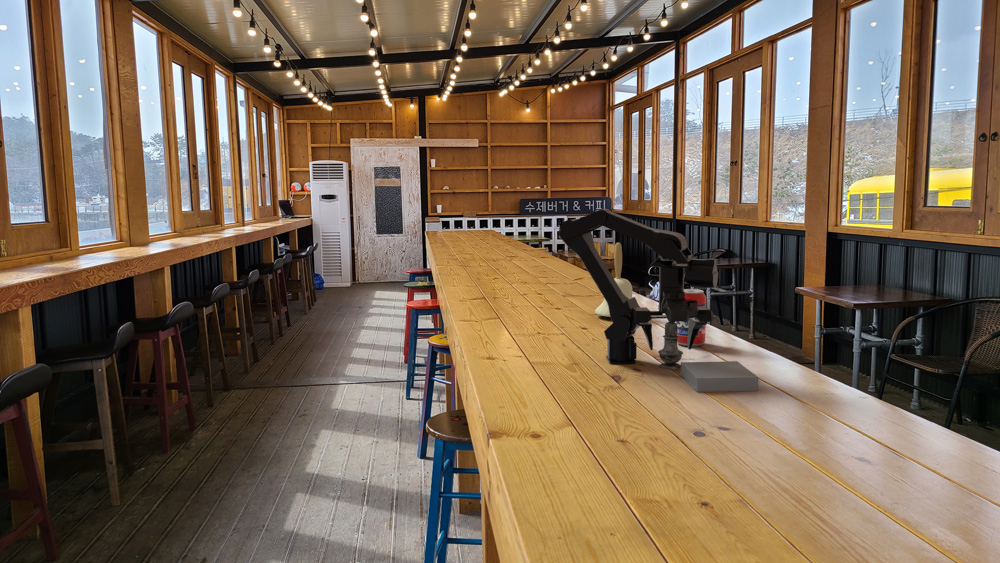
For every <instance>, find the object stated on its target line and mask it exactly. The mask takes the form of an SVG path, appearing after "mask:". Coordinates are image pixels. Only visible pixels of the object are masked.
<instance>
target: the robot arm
mask: <svg viewBox="0 0 1000 563" xmlns="http://www.w3.org/2000/svg"><path fill="white" fill-rule="evenodd" d="M602 227H604V228H606V229H609V230H611V231H614V232H616V233H619V234H621V235H623V236H625V237H628V238H631V239H633V240H635V241H638V242H640V243H642V244H644V245H645V246H647V247H648V248H649V249H650V250H652V251H653V252H655V253H656V254H658V255H659V256H657V257H656V259H655V260H654V261H653V262H652V263H650V267H652V268H659V274H658V277H659V280H658V284H659V286H658V305H657V307H658V308H657V309H658V310H650V309H649V308H648V307H646V306H645V307H641V306H640V305H639V302H638V300H637V297H635V296H632V298H631V299H629V298H627V297H626V296H625V295H624V294H623V293H622V291H621V289H620V288H619V286H618V285H617V283H616V281H615V280H614V276H613V275H612V273H611V272H610V270H609V268H608V266H607V265H606V263H605V262H604V260H603V258H602V257H601V255H600V253H599V252H598V250H597V249H596V247H595V242H594V236H593V234H592V232H594V231H596V230H598V229H600V228H602ZM558 235H559V238H560V239H561V240H562V242H563V243H564V244H565V245H566V246H567V247H568V249H570V250H571V251H572V252H574V253H575V254H576V255H577V256H578V257H579V258H580V260H581V262H582V263H583V265H584V267H585V269H586V270H587V272H588V273H589V275H590V277H591V279H592V280H593V282H594V283H595V285H596V286H597V288H598V289H599V291H600V293H601V295H602V296H603V299H604V298H605V300H606V301H607V304H608V308H609V313H610V317H609V318H610V319H611V321H612V323H611V324H610V325H609V326H608V327H607V328H605V330H604V331H603V332H604V336H605V339H606V340H607V346H606V347H607V352H606V353H607V355H605V358H606V360H607V361H608V363H609V364H614V365H615V364H617V365H618V364H636V363H637V361H636V360H637V350H638V349H637V348H638V347H637V343H636V341H635V337H634V335H635V334H636V331H637V329H639V328H640V327H641V328H642V331H643V333H644V336H645V339H646V341H647V344H648V348H649V350H650V351H653V346H654V343H653V333H652V328H653V323H651V320H652V319H654V320H655V319H657V320H658V319H666V320H667V322H675V323H676V322H688V321H689V323H688V341H687V343H688V346H687V349H688V350H691V349H692V345H693V342H694V340H695V337H696V335H697V333H698V331H699V329H700V328H701V327H702V326H703V325H706V326H707V325H708V323H711V322H713V321H714V313H713V311H712V310H711V309H710V308H708V307H707V306H706V307H705V306H701V307H698V302H697V301H696V300H689V301H686V299H685V292H684V289H685V283H686V284H687V285H689V287H690V288H704V289H705V288H706V289H716V288H717V286H718V279H719V271H718V266H717V259H716V258H706V259H703V258H702V259H701V258H696V257H695V255H694V254H693V253H692V251H691V250H690V249H689V247H688V242H687V238H686V237H685V236H684V235H683V234H681V233H679V232H676V231H670V230H667V229H658V228H654V227H650V226H647V225H646V224H642V222H641V223H640V222H638V221H636V220H633V219H630V218H628V217H626V216H623V215H622V214H621V215H620V214H618V213H616V212H614V211H611V210H610V209H609V208H601V209H597V210H595V211H594V212H592V213H590V214H587V215H585V216H582V217H579V218H574V219H566V220H565V221H563V222H562V223H561V224H560V226H559V228H558ZM689 318H691V319H689Z"/></svg>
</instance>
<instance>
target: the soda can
mask: <svg viewBox="0 0 1000 563" xmlns="http://www.w3.org/2000/svg"><path fill="white" fill-rule="evenodd" d="M684 292H685V299H686V301H689V300H696V301H697V302H698V307H701V306H705V307H707V296H706V295H705V293H704V292H705V291H704V290H701V289H695V288H684ZM689 319H691V318H689ZM675 323H676V324H677V336H678V337H679V338H677V344H679V345H681V346H684V347H688V343H687V341H688V323H689V321H688V322H675ZM706 326H707V325H703V326H702V327H701V328H700V329H699V331H698V333H697V335H696V337H695V340H694V342H693V345H692V347H694V348H695V347H700V346H702V345H704V344H705V343H706V333H707V332H706V328H707V327H706ZM692 347H691V348H692Z"/></svg>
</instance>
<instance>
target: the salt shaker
mask: <svg viewBox="0 0 1000 563" xmlns="http://www.w3.org/2000/svg"><path fill="white" fill-rule="evenodd" d="M662 338H664V340H663V341H664V342H663V348H662V349H659V350H658V351H657V353H658V355H659V356H658V357H659V358H660V360H661V361H662V362H661V363H660V364H659V365H658V366H659V367H660V368H661V369H664V370H681V363H679V362H680V361H681V359H682V357H683V356H682V355H684V352H683V351H682V350H680V349H679V346H678V343H677V338H679V337H678V336H677V324H676V322H669V321H667V322H666V323H665V324H664V335H662Z"/></svg>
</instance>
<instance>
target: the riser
mask: <svg viewBox="0 0 1000 563" xmlns="http://www.w3.org/2000/svg"><path fill="white" fill-rule="evenodd" d="M680 365H681V368H680V376H681V377H682V378H683V379H684V380H685V382H686V383H688V385H690V386H691V388H692V389H693V390H694V391H695V392H697V393H712V392H717V393H719V392H755V391H756V392H758V391H759V379H760V378H759V376H758V375H756V374H755V373H754V372H753V371H751V370H750V369H748V368H747V367H746V366H744V365H743V364H741V362H739V361H734V360H733V361H729V360H728V361H688V362H687V361H685V362H680Z"/></svg>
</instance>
